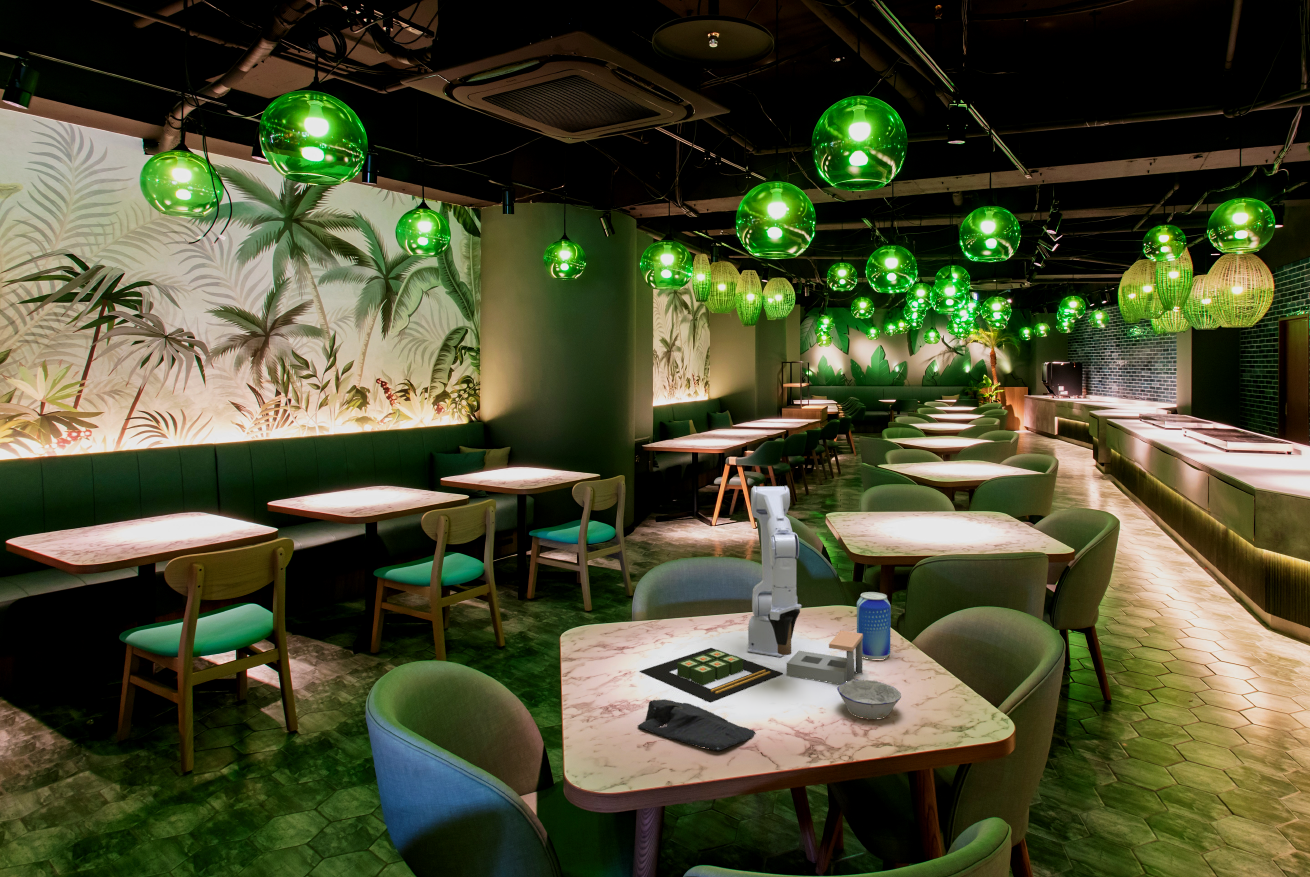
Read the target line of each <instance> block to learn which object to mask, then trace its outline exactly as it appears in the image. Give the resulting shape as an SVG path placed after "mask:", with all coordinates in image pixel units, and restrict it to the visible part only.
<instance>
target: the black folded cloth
mask: <svg viewBox="0 0 1310 877" xmlns="http://www.w3.org/2000/svg"><path fill="white" fill-rule="evenodd" d="M646 712H647V713H646V716H645V720H644V721H643V722H641V723H640V724H638V725H637V728H639V729H641V730H642V731H648V732H651V733H653V734H654V735H658V736H660V737H663V736H664V737H663V738H665V737H666V739H667V738H668V739H669V738H670V739H669V740H676V739H677V740H676V741H679V740H680V742H681V741H683V742H682V743H684V742H687V743H686V744H688V743H689V744H694V745H697V746H696V747H698V746H700V747H705V748H709V749H710V750H712V749H714V750H713V751H716V750H717V751H721V750H724V749H726V748H729V747H731V746H734V745H736V744H740V743H743V742H746V741H747V740H750V739H752V738H753V737H755V736H754V735H755V734H756V733H755V732H756V731H755V730H754V729H750V728H748V727H743V726H740V725H737V724H735V723H733V722H731V721H728V720H727V719H725V718H723V717H722V716H719V715H717V714H715V713H713V712H711V711H708V710H707V709H704V708H701V707H698V706H696V705H694V704H691V703H688V702H683V703H682V702H677V701H673V700H671V699H670V700H669V699H653V700H649V701H648V707H647V711H646ZM663 725H664V726H663ZM660 726H661V727H660ZM754 733H755V734H754ZM751 737H752V738H751ZM749 738H750V739H749ZM689 744H688V745H689ZM694 745H693V746H694ZM700 747H699V748H700ZM705 748H704V749H705Z"/></svg>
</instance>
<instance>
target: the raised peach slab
mask: <svg viewBox="0 0 1310 877" xmlns="http://www.w3.org/2000/svg"><path fill="white" fill-rule="evenodd" d="M862 638H863V634H862V633H857V632H852V631H847V630H846V631H845V630H840V631H839V632H838V633H837V634H836V635H835V636H834V637H833V638H832V640H831V641H830V642H829V643H828V648H829V649H831V650H838V651H846V658H847V681H851V680H852V679H853V680H855V677H854V676H855V673H856V672H857V673H856V674H858V673H862V674H863V658H862ZM854 650H855V652H854ZM854 653H855V654H854ZM854 655H855V656H854ZM854 657H855V658H854Z"/></svg>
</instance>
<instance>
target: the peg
mask: <svg viewBox="0 0 1310 877" xmlns="http://www.w3.org/2000/svg"><path fill="white" fill-rule="evenodd" d="M778 653H779V654H781V655H783V656H787V655H788V656H790V655H791V654H792V639H791V624H790V627H789V632H788V640H787V644H786V645H779V644H778Z"/></svg>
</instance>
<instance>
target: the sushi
mask: <svg viewBox="0 0 1310 877" xmlns="http://www.w3.org/2000/svg"><path fill="white" fill-rule="evenodd" d="M674 671H677V673H676V674H675V673H673V672H674ZM744 671H746V672H747V673H748V672H749V674H747V675H744V676H741V677H739V678H736V679H733V680H730V681H728V682H726V683H723V684H721V685H717V686H715V687H712V688H709V687H708V686H706V685H710V684H711V683H714V682H716V681H720V680H722V679H726V678H727V677H730V675H731V676H733V675H735V674H738V673H742V672H744ZM639 673H641V674H643V675H646V676H648V677H651V678H653V679H655V680H658V681H660V682H662V683H664V684H667V685H668V686H671V687H674V688H676V689H678V690H681V691H682V692H685V693H687V694H690V695H692V696H694V697H696V698H699V699H701V700H703V701H705V702H708V703H713V702H716V701H718V700H721V699H724V698H727V697H728V696H731V695H735V694H737V693H739V692H742V691H744V690H746V689H749V688H752V687H754V686H757V685H759V684H763V683H765V682H767V681H770V680H772V679H773V680H774V679H775V678H777V677H780V676H783V675H784V672H781V671H779V670H775V669H773V668H771V667H767V666H765V665H762V664H758V663H755V662H753V661H750V660H747V659H745V658H743V657H739V656H736V655H734V654H730V653H727V652H726V651H721V650H720V649H716V648H713V647H710V648H705V649H703V650H699V651H696V652H694V653H691V654H688V655H684V656H681V657H678V658H676V659H673V660H669V661H666V662H664V663H663V662H662V663H659V664H657V665H655V666H651V667H648V668H647V667H646V668H645V669H641V670H639Z"/></svg>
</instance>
